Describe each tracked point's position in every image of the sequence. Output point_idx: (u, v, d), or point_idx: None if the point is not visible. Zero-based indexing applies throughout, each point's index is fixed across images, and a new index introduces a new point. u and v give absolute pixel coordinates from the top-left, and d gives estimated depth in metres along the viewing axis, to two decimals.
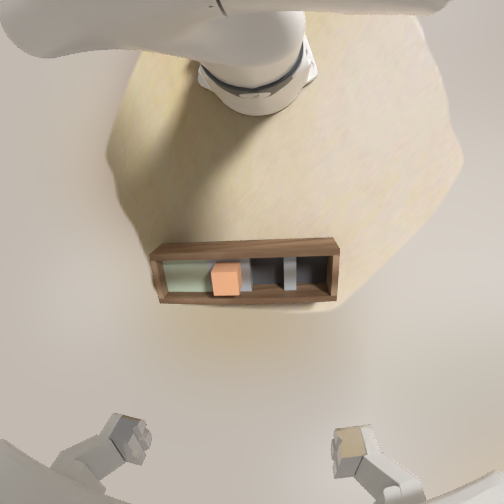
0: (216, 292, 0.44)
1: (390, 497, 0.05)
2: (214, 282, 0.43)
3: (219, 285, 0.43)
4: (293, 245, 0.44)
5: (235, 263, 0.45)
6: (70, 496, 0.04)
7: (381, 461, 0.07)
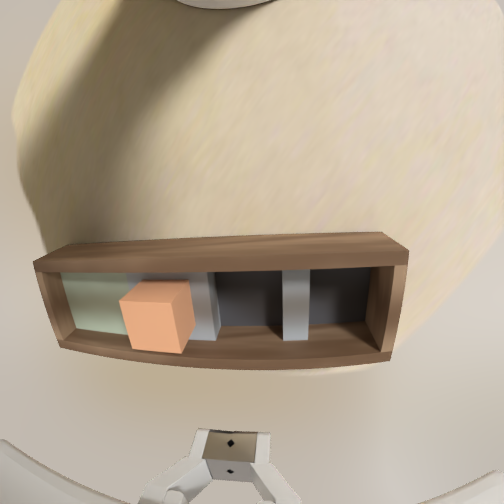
0: (135, 343, 0.18)
1: None
2: (128, 322, 0.18)
3: (139, 329, 0.18)
4: (305, 244, 0.19)
5: (178, 282, 0.20)
6: (70, 496, 0.04)
7: (266, 472, 0.07)
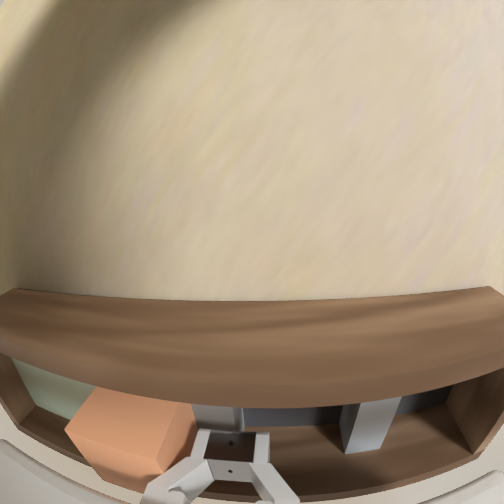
0: (106, 477, 0.08)
1: None
2: (88, 456, 0.07)
3: (108, 468, 0.07)
4: (419, 332, 0.09)
5: None
6: (70, 496, 0.04)
7: (264, 472, 0.07)
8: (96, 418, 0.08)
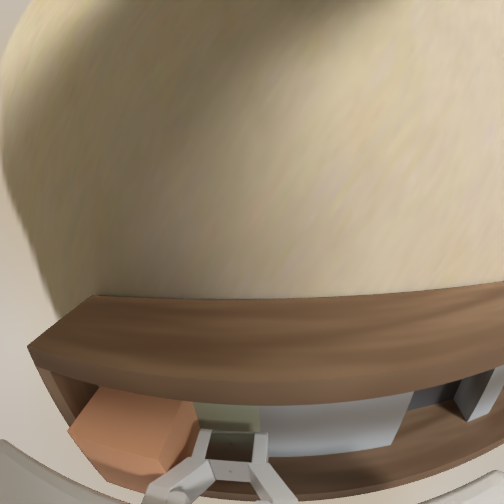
0: (110, 478, 0.08)
1: None
2: (91, 458, 0.07)
3: (111, 469, 0.08)
4: None
5: None
6: (70, 496, 0.04)
7: (263, 472, 0.07)
8: (99, 419, 0.08)
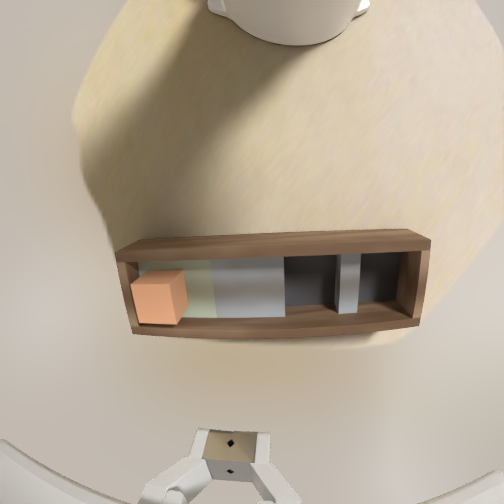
0: (142, 318, 0.25)
1: None
2: (137, 301, 0.24)
3: (145, 306, 0.25)
4: (358, 236, 0.25)
5: (175, 271, 0.27)
6: (70, 496, 0.04)
7: (266, 472, 0.07)
8: (145, 279, 0.25)
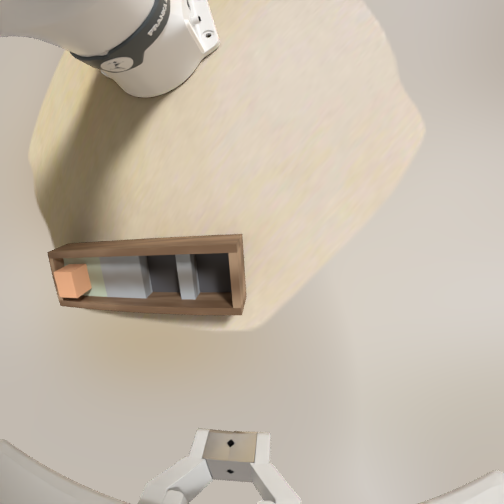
0: (60, 293, 0.35)
1: None
2: (57, 282, 0.34)
3: (61, 286, 0.34)
4: (184, 242, 0.35)
5: (81, 265, 0.37)
6: (70, 496, 0.04)
7: (266, 472, 0.07)
8: (62, 269, 0.35)
